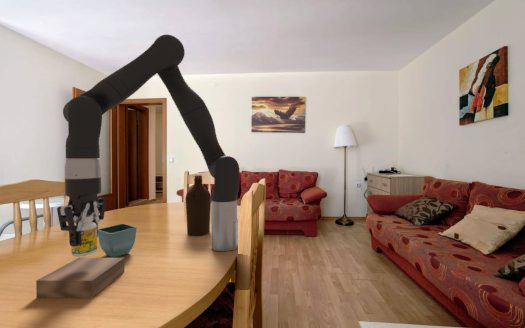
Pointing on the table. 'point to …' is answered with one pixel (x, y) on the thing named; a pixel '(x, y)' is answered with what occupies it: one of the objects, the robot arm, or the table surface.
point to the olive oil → (198, 208)
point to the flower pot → (117, 239)
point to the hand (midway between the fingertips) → (84, 241)
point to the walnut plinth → (80, 278)
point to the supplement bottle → (86, 238)
